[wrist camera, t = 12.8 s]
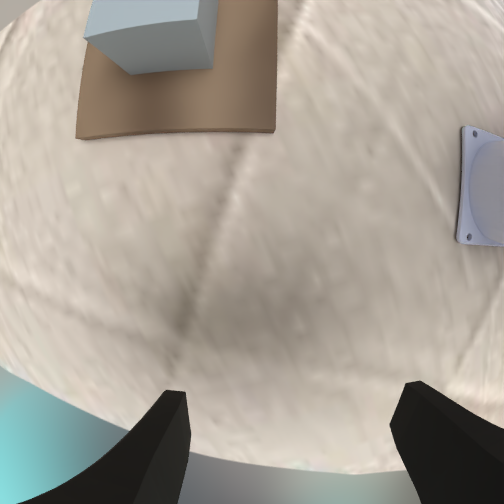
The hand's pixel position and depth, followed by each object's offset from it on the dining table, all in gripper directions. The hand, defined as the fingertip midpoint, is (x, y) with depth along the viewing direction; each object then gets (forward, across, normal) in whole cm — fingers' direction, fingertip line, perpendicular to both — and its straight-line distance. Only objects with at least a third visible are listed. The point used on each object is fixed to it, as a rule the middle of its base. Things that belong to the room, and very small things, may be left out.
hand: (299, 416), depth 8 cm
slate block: (+8, +6, -15) cm, 18 cm away
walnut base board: (+9, +6, -15) cm, 19 cm away
